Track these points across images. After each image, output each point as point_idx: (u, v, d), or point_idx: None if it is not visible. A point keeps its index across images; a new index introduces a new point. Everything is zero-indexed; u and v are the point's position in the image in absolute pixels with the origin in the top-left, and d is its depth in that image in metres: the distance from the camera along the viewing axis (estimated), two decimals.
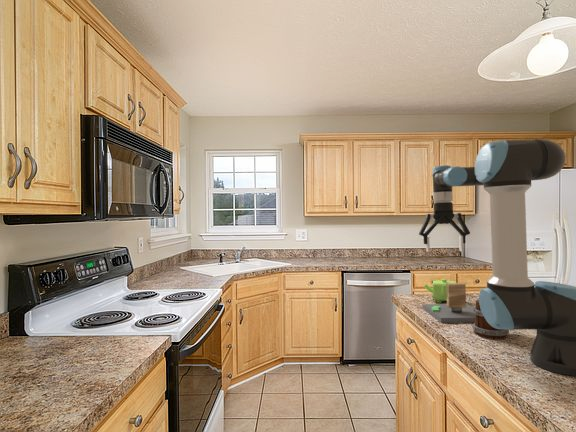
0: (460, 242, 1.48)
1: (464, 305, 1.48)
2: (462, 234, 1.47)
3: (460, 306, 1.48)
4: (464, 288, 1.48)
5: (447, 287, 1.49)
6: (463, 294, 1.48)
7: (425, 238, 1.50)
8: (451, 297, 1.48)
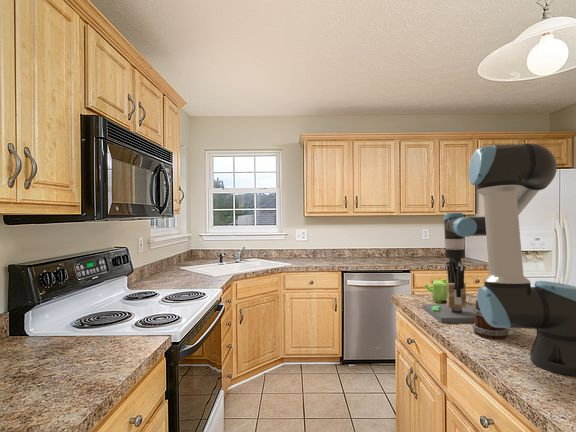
0: None
1: (464, 305, 1.48)
2: (455, 286, 1.47)
3: (460, 306, 1.48)
4: (464, 288, 1.48)
5: (447, 287, 1.49)
6: (463, 294, 1.48)
7: None
8: (451, 297, 1.48)
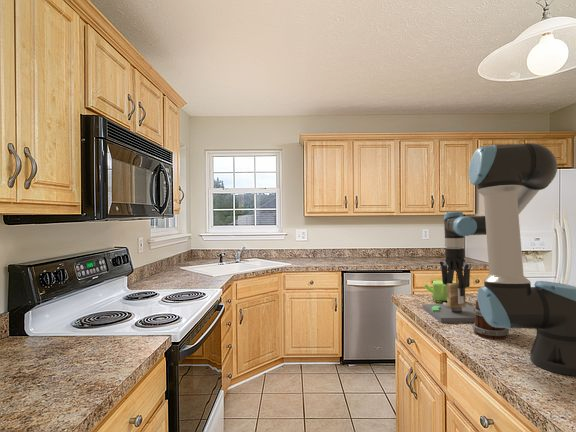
0: None
1: (464, 305, 1.48)
2: (459, 286, 1.46)
3: (460, 306, 1.48)
4: None
5: (448, 287, 1.49)
6: None
7: None
8: (452, 297, 1.47)
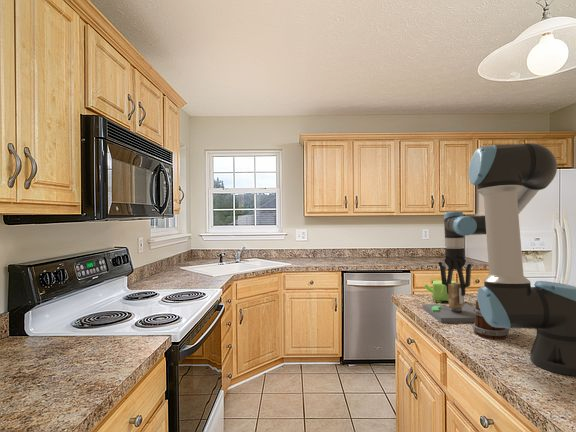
0: None
1: (463, 304, 1.49)
2: (460, 285, 1.47)
3: (460, 305, 1.49)
4: None
5: (450, 288, 1.47)
6: None
7: (447, 288, 1.51)
8: (455, 297, 1.47)
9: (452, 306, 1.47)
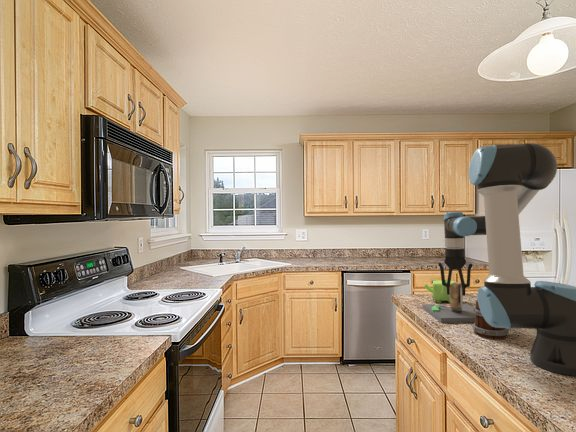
0: (460, 294, 1.48)
1: None
2: (462, 285, 1.47)
3: (460, 305, 1.49)
4: None
5: (452, 288, 1.47)
6: None
7: (447, 288, 1.50)
8: (457, 298, 1.46)
9: (454, 306, 1.46)
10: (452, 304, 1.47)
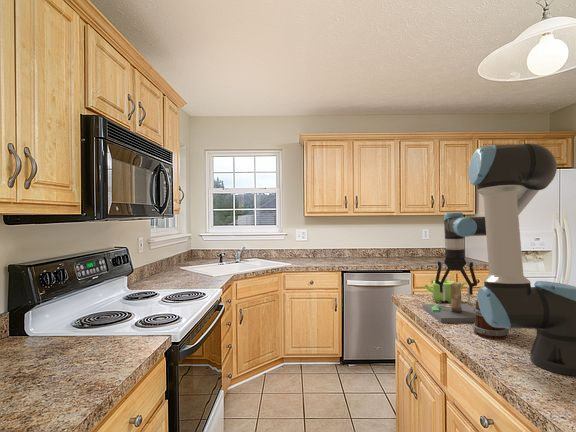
0: None
1: (461, 303, 1.50)
2: (469, 285, 1.46)
3: (460, 305, 1.49)
4: (460, 287, 1.51)
5: (453, 288, 1.46)
6: (460, 293, 1.50)
7: (441, 287, 1.51)
8: (457, 298, 1.46)
9: (455, 306, 1.46)
10: (453, 304, 1.47)
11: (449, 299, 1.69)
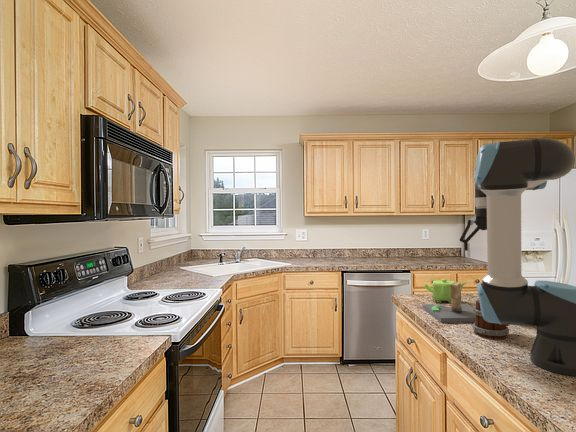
0: None
1: (461, 304, 1.50)
2: None
3: (460, 305, 1.49)
4: (460, 287, 1.51)
5: (453, 288, 1.46)
6: (460, 293, 1.50)
7: (465, 244, 1.47)
8: (457, 298, 1.46)
9: (455, 306, 1.46)
10: (453, 304, 1.47)
11: (449, 299, 1.69)
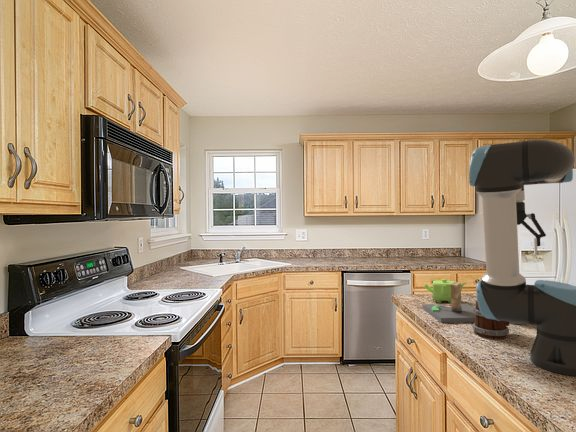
0: (534, 245, 1.38)
1: (461, 304, 1.50)
2: (536, 236, 1.37)
3: (460, 305, 1.49)
4: (460, 287, 1.51)
5: (453, 288, 1.46)
6: (460, 293, 1.50)
7: None
8: (457, 298, 1.46)
9: (455, 306, 1.46)
10: (453, 304, 1.47)
11: (449, 299, 1.69)
